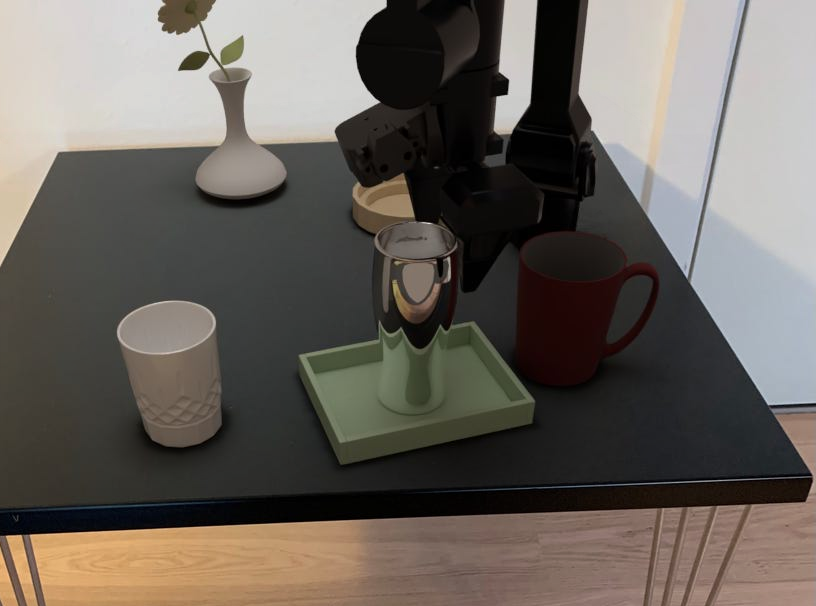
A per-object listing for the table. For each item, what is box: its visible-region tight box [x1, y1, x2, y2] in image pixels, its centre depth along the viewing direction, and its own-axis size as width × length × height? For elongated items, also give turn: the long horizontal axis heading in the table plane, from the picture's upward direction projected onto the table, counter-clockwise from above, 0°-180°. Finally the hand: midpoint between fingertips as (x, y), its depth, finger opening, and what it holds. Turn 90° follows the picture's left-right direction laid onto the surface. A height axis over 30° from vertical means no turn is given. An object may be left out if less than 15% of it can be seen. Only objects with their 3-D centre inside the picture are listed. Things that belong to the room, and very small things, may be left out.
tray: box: [298, 320, 536, 466], centre depth 80 cm, size 17×13×2 cm
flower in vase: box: [157, 0, 288, 200], centre depth 105 cm, size 13×11×25 cm
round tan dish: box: [352, 173, 445, 235], centre depth 106 cm, size 13×13×3 cm
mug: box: [514, 231, 660, 387], centre depth 80 cm, size 12×9×11 cm
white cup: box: [116, 300, 223, 448], centre depth 75 cm, size 8×8×10 cm
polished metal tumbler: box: [371, 221, 460, 415], centre depth 75 cm, size 7×7×15 cm
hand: (446, 263), depth 72 cm, fingers open, 9 cm apart
